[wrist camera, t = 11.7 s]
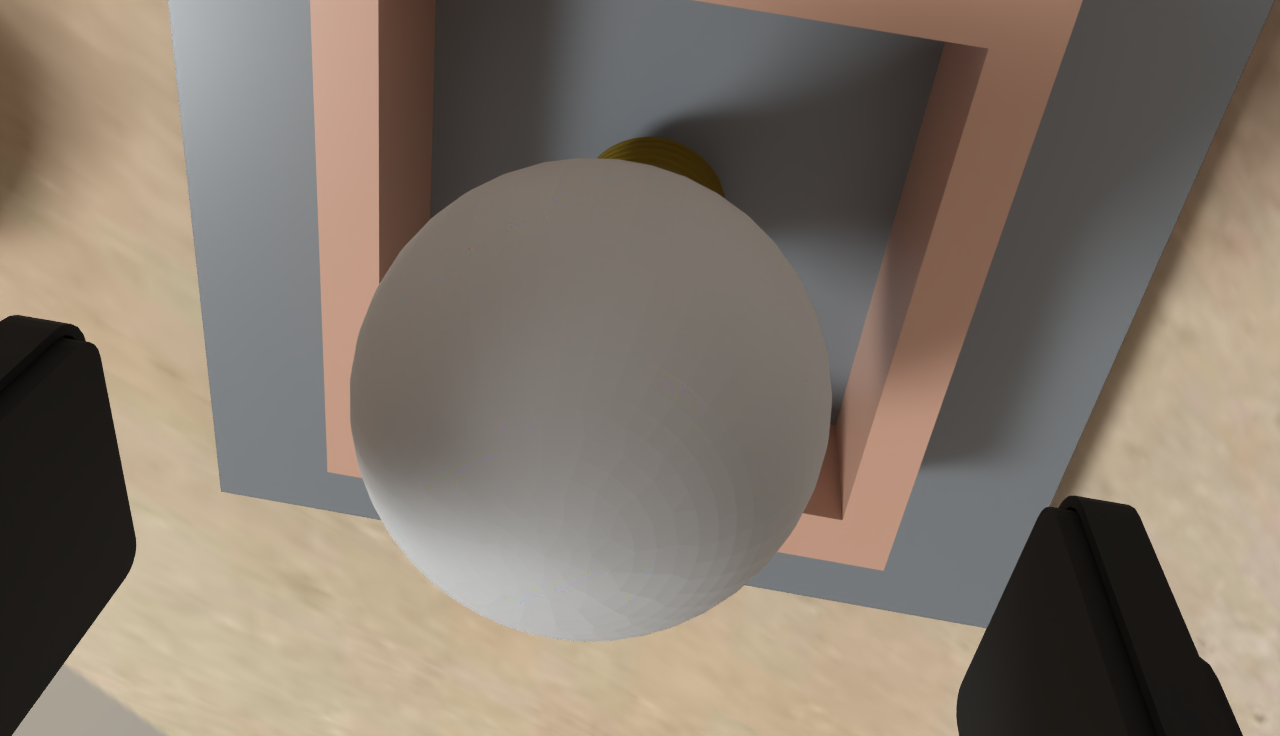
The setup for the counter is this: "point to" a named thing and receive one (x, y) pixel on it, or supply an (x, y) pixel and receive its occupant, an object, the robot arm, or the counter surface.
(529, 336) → the light bulb
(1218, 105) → the holder board
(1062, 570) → the robot arm
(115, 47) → the counter surface
